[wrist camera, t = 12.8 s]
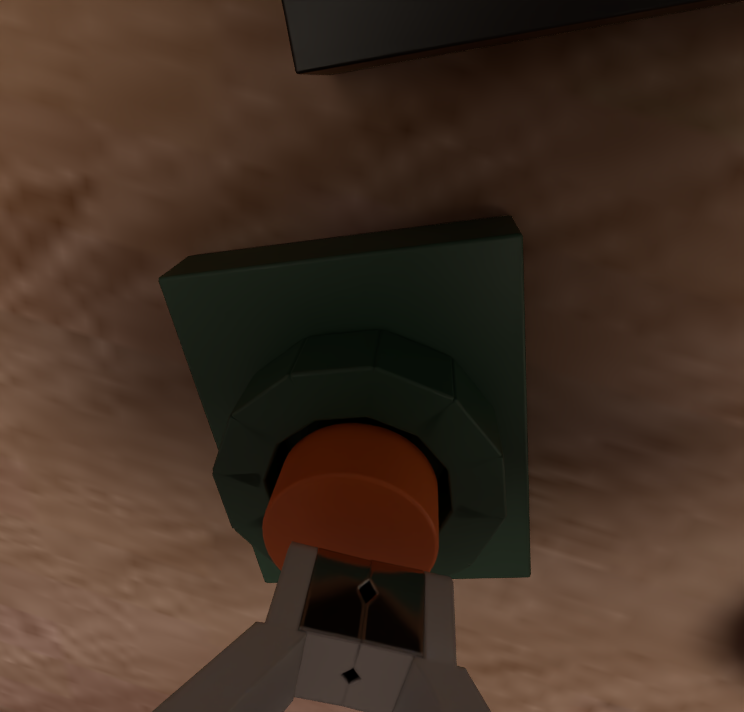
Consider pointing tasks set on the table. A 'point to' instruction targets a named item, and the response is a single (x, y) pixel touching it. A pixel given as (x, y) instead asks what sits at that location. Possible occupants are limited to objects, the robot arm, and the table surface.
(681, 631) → the table surface
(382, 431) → the button
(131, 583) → the table surface
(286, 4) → the panel
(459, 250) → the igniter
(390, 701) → the robot arm
